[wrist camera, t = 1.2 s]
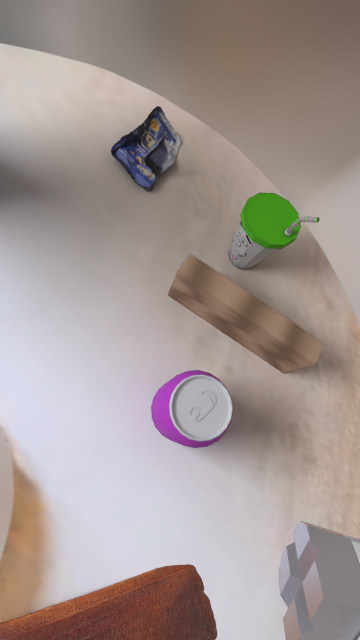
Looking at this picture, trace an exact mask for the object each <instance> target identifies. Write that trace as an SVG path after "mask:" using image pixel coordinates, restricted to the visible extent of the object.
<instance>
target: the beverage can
mask: <svg viewBox="0 0 360 640" xmlns="http://www.w3.org/2000/svg"><path fill="white" fill-rule="evenodd" d="M151 412H152V419H153V422H154V424H155V427H156V428H157V429H158V431H159V432H160V433H161V434H162V435H163V436H165V437H166V438H168V439H169V440H171V441H174V442H177V443H179V444H182V445H185V446H189V447H193V448H198V447H207V446H209V445H211V444H213V443H215V442H217V441H218V440H219V439H220V438H221V437H222V436H223V435H224V434H225V433H226V431H227V429H228V427H229V425H230V423H231V418H232V412H233V406H232V399H231V397H230V394H229V392H228V390H227V388H226V387H225V386H224V385H223V383H222V382H221V381H220V380H219V379H218V378H216V377H215V376H213V375H212V374H210V373H207V372H203V371H200V370H195V371H186V372H184V373H181V374H179V375H177V376H175V377H174V378H173V379H171V380H170V381H168V382H167V383H166V384H164V385H163V386H162V387H161V388H160V389H159V390H158V391H157V393H156V395H155V396H154V398H153V402H152V406H151Z"/></svg>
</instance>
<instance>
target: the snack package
mask: <svg viewBox="0 0 360 640" xmlns="http://www.w3.org/2000/svg"><path fill="white" fill-rule="evenodd" d="M175 140H176V141H177V142H178V144H177V150H176V152H175V149H174V147H173V146H174V145H175ZM180 141H181V140H180V136H179V135H177V134H176V133H175V132H174V128H173V127H172V125H171V124H170V122H169V121H168V120H167V118H166V117H165V114H164V112H163V111H162V109H161V107H159V106H158V107H156V108H155V109H153V111H152V112H151V113H150V114H149V116H148V117H147V119H146V120H145V122H144V123H143V124H142V125H140V126H138V128H136V129H135V130H134V131H133V132H130V133H129V134H128V135H125V136H123V137H122V138H121V140H119V141H118V142H117V143H116V144H115V145H114V146H113V147H112V149H111V153H112V155H113V156H114V157H115V158H116V159H117V160H118V161H119V162H120V163H121V164H122V165H123V166H124V167H125V169H126V170H127V171H128V173H129V174H130V175H131V174H132V175H133V176H134V178H135V179H136V181H137V182H136V183H137V184H138V185H140V186H142V187H143V188H145V189H146V190H147V191H151V190H152V188H153V187H154V185H155V182H156V179H157V178H158V177H159V176H160V174H161V173H163V172H164V171H165V170H166V169H168V168H169V167H170V166H171V165H172V164H173V163H174V160H175V159H176V158H175V156H176V154H177V152H178V148H179V146H180ZM133 176H131V177H132V178H133ZM134 178H133V180H134ZM134 181H135V180H134Z"/></svg>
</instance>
